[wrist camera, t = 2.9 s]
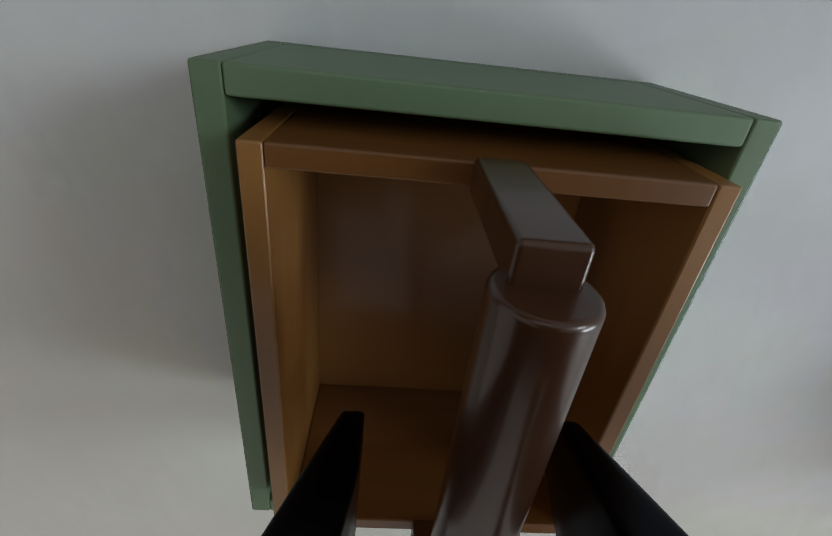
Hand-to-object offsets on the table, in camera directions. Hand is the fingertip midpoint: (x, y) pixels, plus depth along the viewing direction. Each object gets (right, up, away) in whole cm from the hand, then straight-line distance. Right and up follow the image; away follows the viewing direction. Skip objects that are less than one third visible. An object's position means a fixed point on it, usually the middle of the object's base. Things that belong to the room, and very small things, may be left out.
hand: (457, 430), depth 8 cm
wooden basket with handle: (0, +3, +5) cm, 6 cm away
